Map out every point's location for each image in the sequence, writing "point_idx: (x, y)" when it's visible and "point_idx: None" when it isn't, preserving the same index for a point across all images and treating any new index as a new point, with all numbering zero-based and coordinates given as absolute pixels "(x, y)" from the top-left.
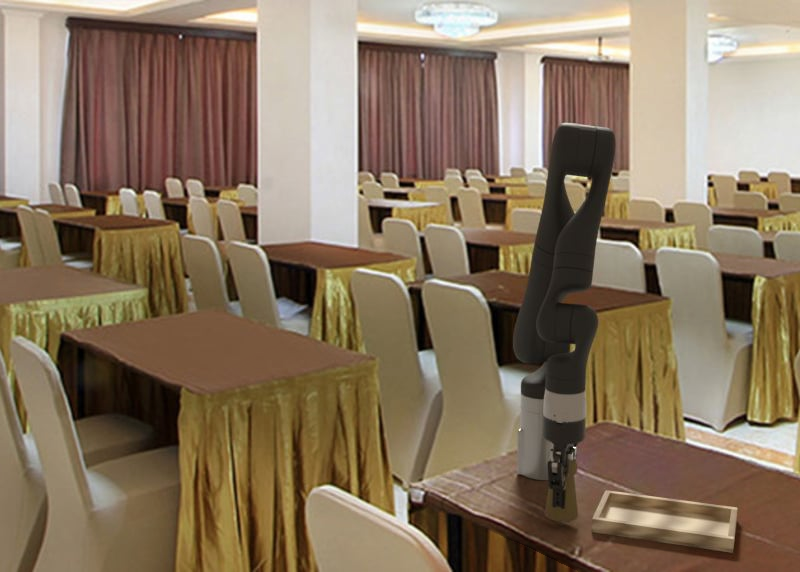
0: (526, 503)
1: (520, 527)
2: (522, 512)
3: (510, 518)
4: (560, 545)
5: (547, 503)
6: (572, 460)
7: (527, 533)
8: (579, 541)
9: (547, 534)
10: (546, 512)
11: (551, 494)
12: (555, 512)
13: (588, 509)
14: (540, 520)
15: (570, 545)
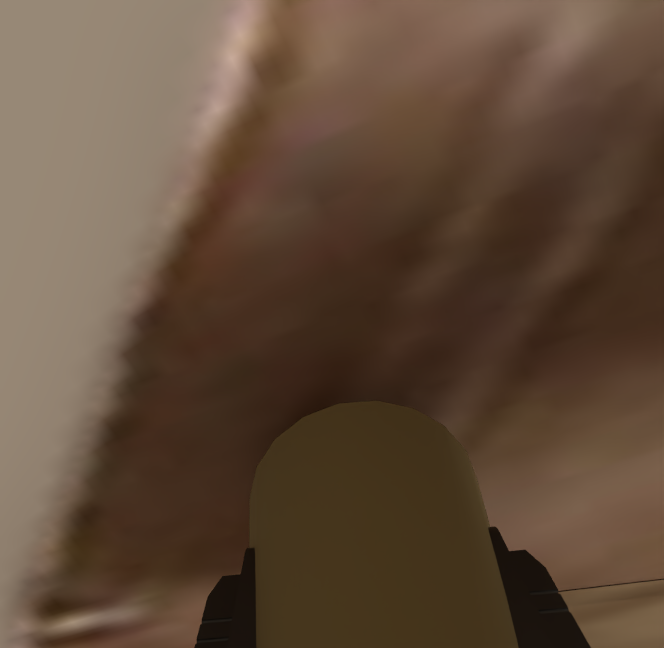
0: (606, 146)
1: (196, 258)
2: (438, 179)
3: (301, 136)
4: (96, 539)
5: (298, 487)
6: None
7: (136, 331)
8: (198, 600)
9: (189, 438)
10: (289, 443)
11: (268, 604)
12: (249, 538)
13: (628, 523)
14: (363, 336)
15: (127, 579)
